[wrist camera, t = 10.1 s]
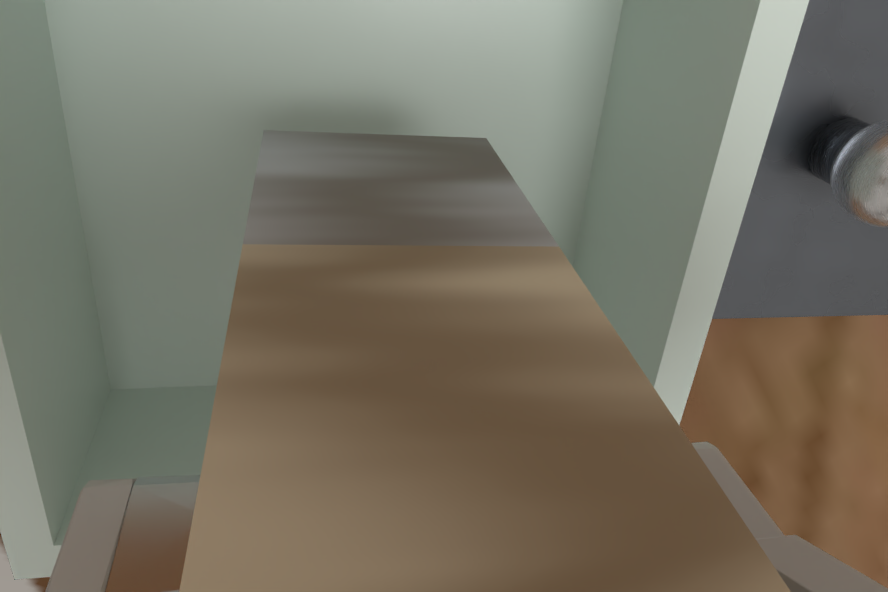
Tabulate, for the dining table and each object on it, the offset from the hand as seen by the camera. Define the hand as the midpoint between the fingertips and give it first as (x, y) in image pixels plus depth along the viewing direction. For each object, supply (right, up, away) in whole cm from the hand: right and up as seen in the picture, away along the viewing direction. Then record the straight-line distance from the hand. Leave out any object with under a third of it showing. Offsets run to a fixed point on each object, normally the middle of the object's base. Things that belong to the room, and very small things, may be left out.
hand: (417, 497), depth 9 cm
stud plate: (+12, +7, +14) cm, 20 cm away
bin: (-2, +6, +12) cm, 13 cm away
